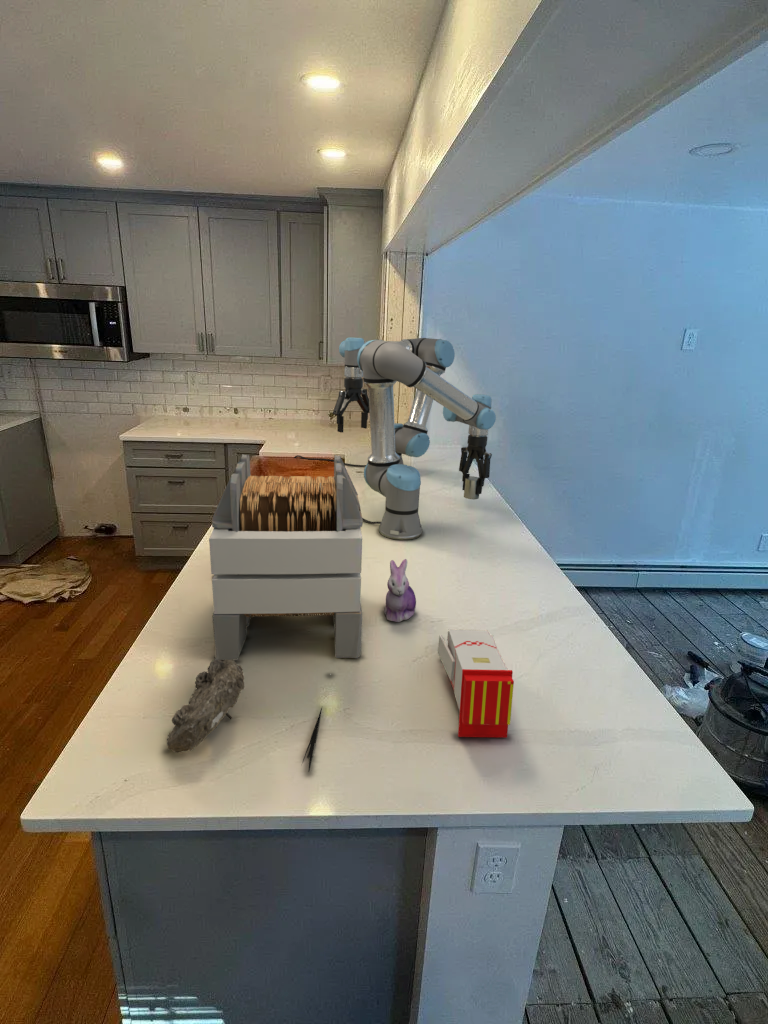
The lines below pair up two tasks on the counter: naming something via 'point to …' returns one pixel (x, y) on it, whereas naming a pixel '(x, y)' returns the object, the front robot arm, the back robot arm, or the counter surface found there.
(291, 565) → the record crate
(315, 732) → the feather
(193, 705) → the fossil
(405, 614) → the figurine
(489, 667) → the toy
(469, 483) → the can
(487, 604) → the counter surface
